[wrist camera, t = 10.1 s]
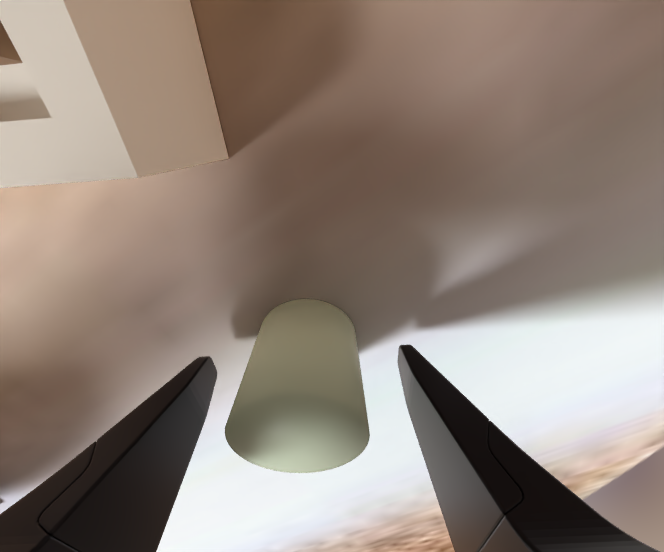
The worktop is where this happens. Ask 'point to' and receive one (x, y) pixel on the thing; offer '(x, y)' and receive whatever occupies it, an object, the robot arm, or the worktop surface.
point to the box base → (104, 92)
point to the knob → (301, 392)
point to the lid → (7, 49)
